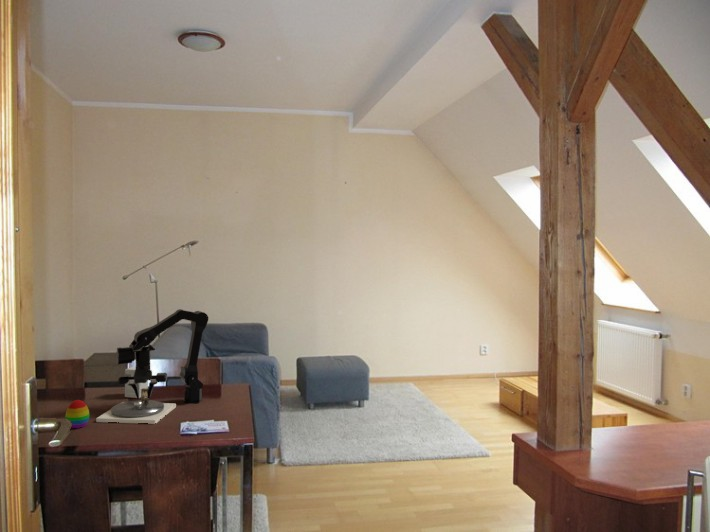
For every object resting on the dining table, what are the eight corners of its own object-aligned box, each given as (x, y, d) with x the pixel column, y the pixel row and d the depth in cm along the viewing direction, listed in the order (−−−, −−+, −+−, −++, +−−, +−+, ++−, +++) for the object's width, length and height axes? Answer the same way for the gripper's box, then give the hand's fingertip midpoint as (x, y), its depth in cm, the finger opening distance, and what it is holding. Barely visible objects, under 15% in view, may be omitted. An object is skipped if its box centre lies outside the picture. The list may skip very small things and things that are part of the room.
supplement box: (139, 398, 259) (139, 370, 258) (124, 397, 260) (124, 369, 260) (148, 394, 266) (148, 366, 265) (133, 393, 267) (133, 365, 267)
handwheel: (155, 417, 226) (155, 401, 226) (103, 417, 225) (103, 401, 225) (170, 402, 246) (170, 388, 246) (122, 402, 246) (122, 387, 245)
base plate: (175, 407, 247) (175, 403, 247) (155, 424, 224) (155, 419, 224) (122, 405, 248) (122, 401, 248) (96, 422, 225) (96, 417, 225)
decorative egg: (81, 421, 225) (81, 396, 225) (93, 425, 220) (93, 399, 220) (61, 426, 218) (60, 400, 218) (72, 431, 214) (72, 404, 213)
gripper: (115, 366, 234) (115, 405, 235) (163, 364, 237) (164, 402, 238) (120, 361, 245) (121, 397, 245) (167, 359, 248) (167, 395, 249)
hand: (143, 398), depth 244 cm, fingers open, 4 cm apart
